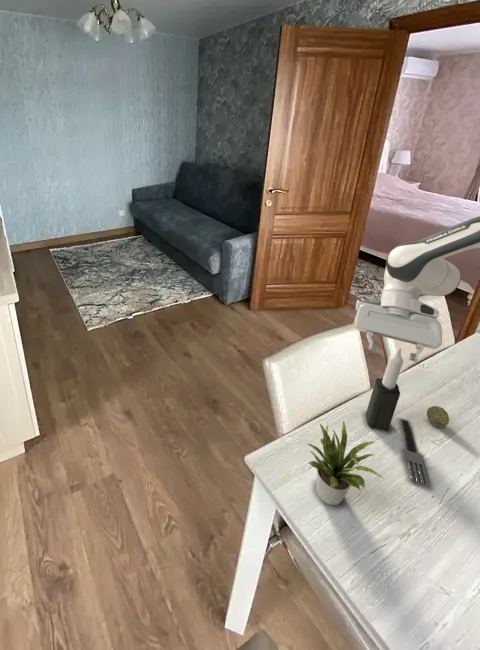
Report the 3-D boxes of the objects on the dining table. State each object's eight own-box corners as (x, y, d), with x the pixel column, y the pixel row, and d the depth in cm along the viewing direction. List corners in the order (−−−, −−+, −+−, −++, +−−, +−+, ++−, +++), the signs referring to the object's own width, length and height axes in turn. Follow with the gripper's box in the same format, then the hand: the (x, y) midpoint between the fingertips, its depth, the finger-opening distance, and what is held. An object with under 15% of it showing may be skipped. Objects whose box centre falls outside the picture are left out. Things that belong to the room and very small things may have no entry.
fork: (411, 423, 94) (412, 422, 94) (428, 486, 78) (429, 485, 78) (396, 419, 95) (397, 418, 95) (410, 480, 79) (411, 479, 79)
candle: (367, 426, 93) (390, 352, 83) (365, 412, 97) (386, 339, 88) (389, 432, 91) (414, 357, 82) (385, 417, 96) (409, 344, 86)
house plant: (380, 496, 76) (399, 444, 70) (357, 548, 67) (376, 494, 61) (318, 453, 86) (329, 404, 79) (290, 493, 77) (301, 441, 70)
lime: (446, 432, 91) (452, 419, 89) (424, 423, 94) (429, 409, 92) (446, 421, 94) (452, 408, 93) (425, 412, 97) (430, 399, 95)
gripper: (358, 293, 97) (350, 341, 93) (446, 312, 89) (442, 366, 85) (355, 300, 103) (347, 345, 98) (438, 318, 94) (433, 368, 90)
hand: (392, 355), depth 91 cm, fingers open, 8 cm apart
